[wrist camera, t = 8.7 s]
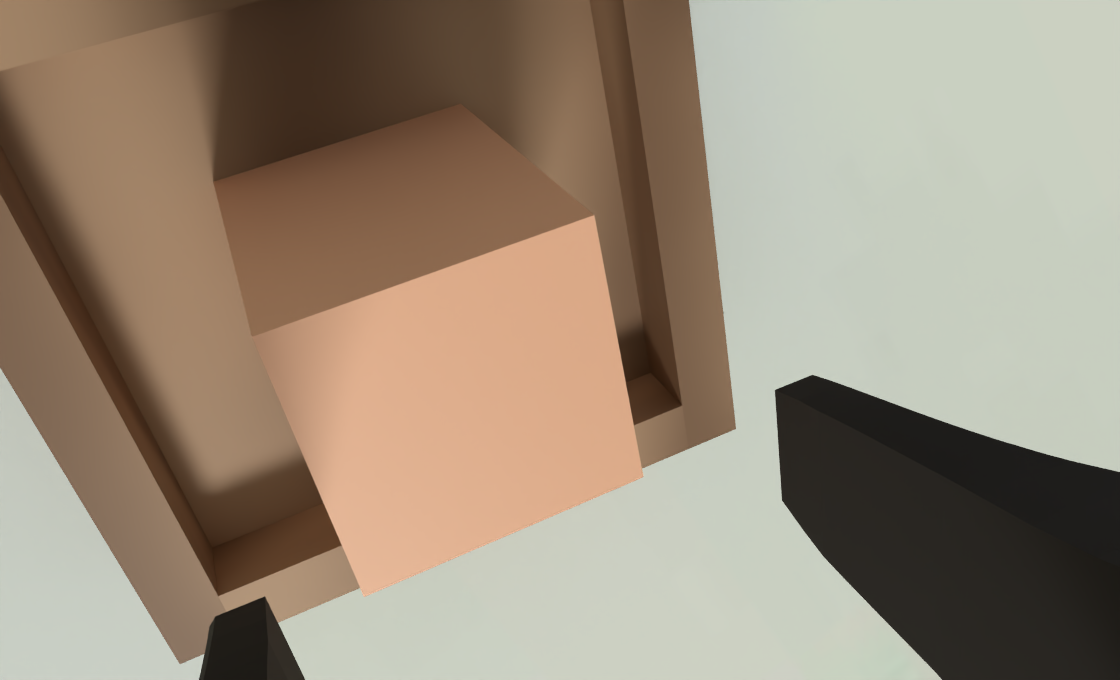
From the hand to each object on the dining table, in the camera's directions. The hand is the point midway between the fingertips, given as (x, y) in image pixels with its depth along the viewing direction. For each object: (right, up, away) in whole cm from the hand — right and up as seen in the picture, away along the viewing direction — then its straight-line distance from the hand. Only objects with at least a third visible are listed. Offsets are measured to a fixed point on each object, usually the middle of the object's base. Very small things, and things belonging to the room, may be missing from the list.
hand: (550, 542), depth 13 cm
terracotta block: (-3, +4, +5) cm, 8 cm away
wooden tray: (-4, +5, +7) cm, 10 cm away
